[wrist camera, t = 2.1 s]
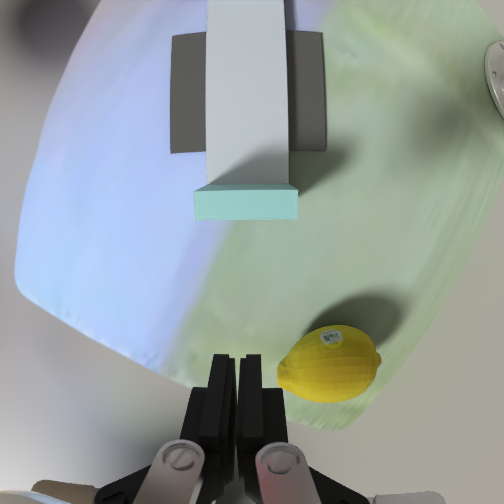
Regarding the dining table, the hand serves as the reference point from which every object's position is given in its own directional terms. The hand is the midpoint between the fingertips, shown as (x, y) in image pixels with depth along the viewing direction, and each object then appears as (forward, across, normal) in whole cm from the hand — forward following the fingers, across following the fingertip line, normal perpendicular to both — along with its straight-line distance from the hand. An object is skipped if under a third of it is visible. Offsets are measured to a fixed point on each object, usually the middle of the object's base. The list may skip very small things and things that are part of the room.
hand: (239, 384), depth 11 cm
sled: (+19, 0, -15) cm, 24 cm away
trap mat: (+19, 0, -15) cm, 24 cm away
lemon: (+19, -8, +11) cm, 24 cm away
